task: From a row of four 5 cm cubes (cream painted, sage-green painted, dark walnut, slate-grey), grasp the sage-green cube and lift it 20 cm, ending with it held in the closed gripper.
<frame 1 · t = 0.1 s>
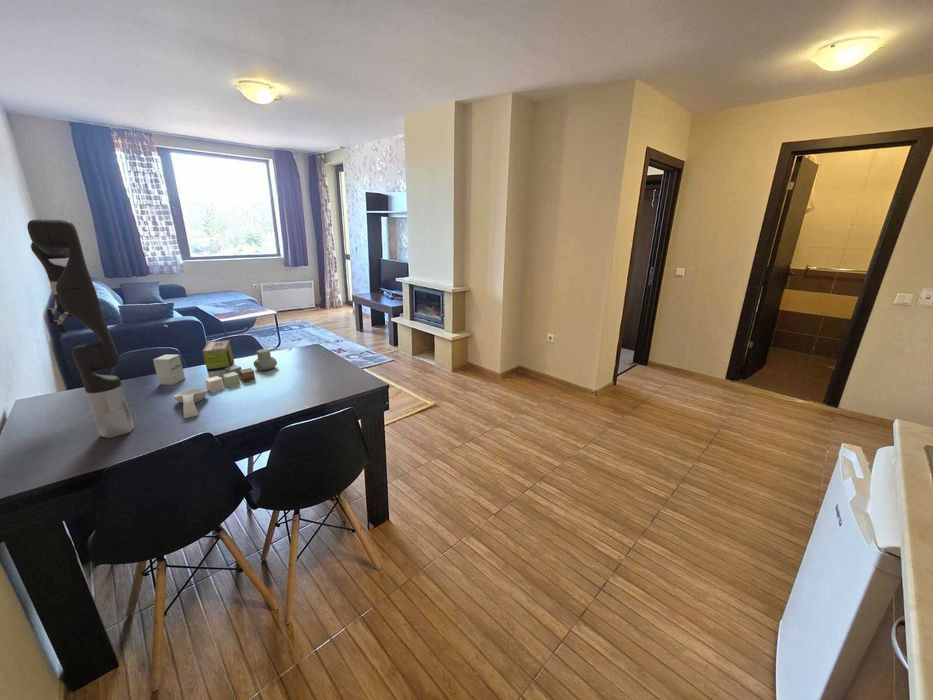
hand: (78, 330, 156), 29 cm above the table, fingers open, 8 cm apart
tea box: (222, 372, 192), on the table
supplement box: (172, 382, 180), on the table
cream cube: (215, 388, 173), on the table
sage cube: (232, 384, 178), on the table
spoon rest: (192, 406, 157), on the table
slate cube: (234, 376, 186), on the table
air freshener: (266, 369, 197), on the table
walnut cube: (248, 380, 183), on the table
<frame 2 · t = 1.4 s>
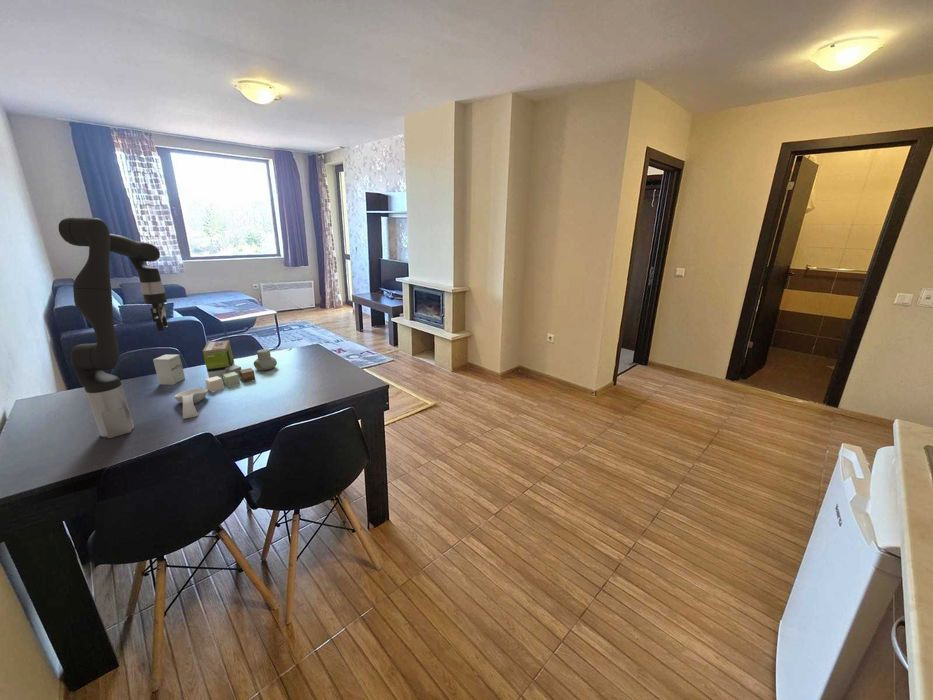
hand: (163, 328, 168), 27 cm above the table, fingers open, 8 cm apart
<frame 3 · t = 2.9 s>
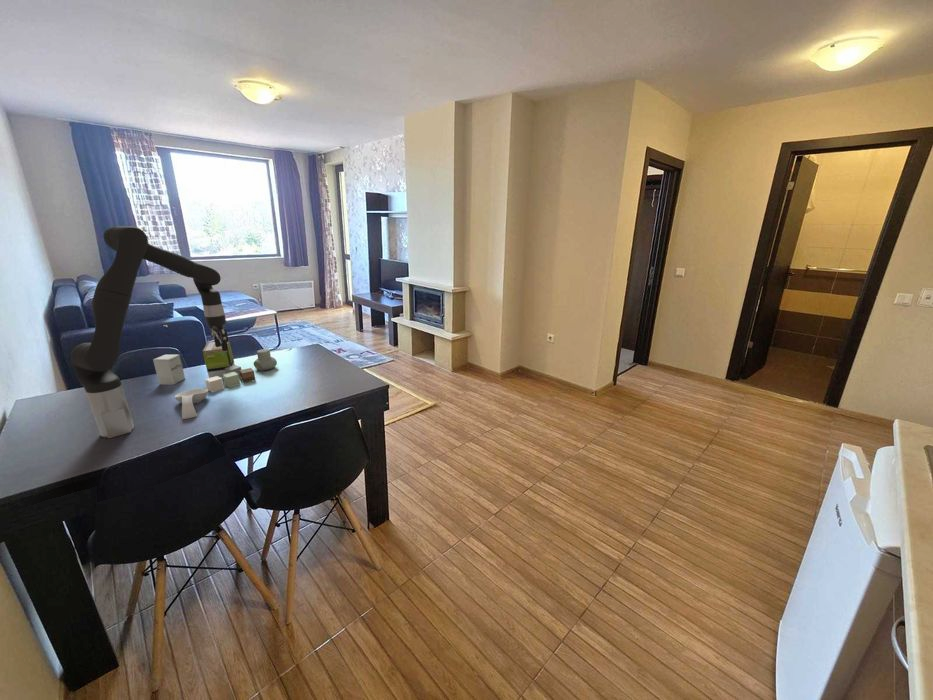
hand: (221, 348, 173), 17 cm above the table, fingers open, 8 cm apart
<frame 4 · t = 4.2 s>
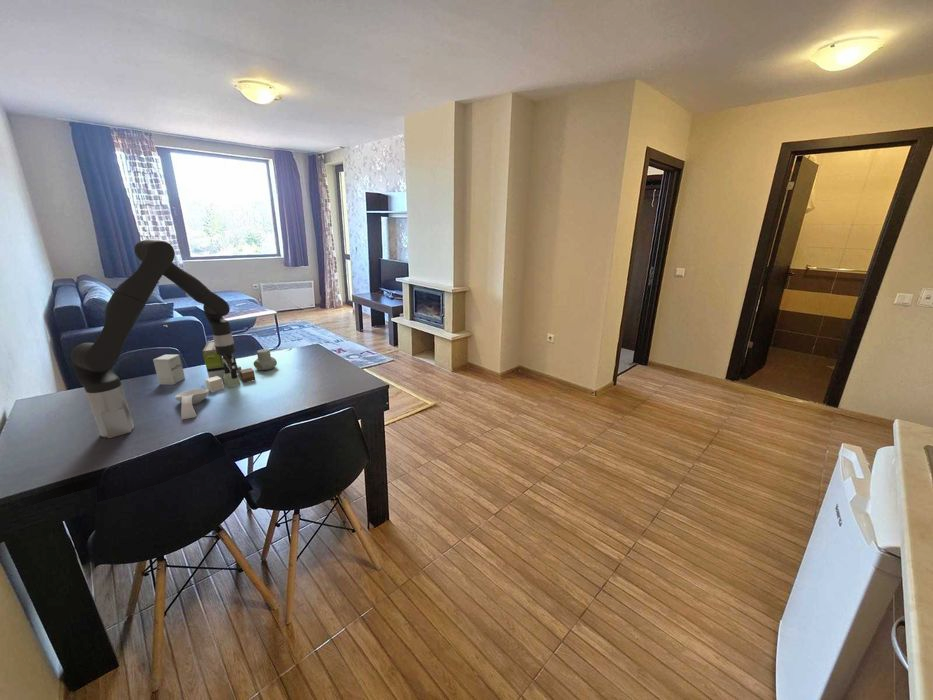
hand: (231, 375, 177), 4 cm above the table, fingers open, 8 cm apart
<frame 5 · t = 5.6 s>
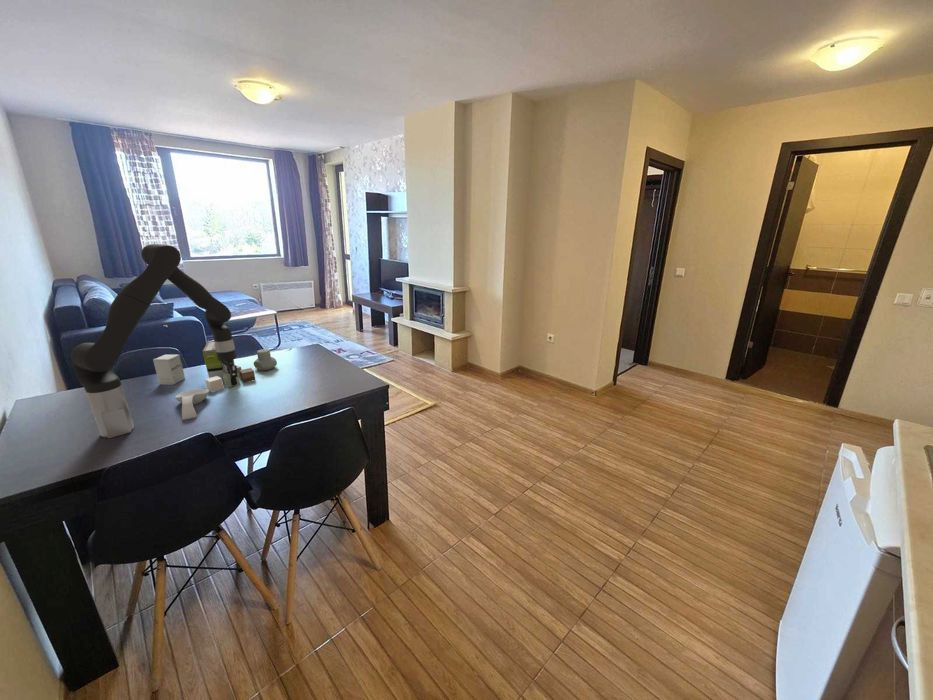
hand: (232, 383, 178), 0 cm above the table, fingers closed on sage cube, 5 cm apart
sage cube: (232, 384, 178), on the table, touching gripper
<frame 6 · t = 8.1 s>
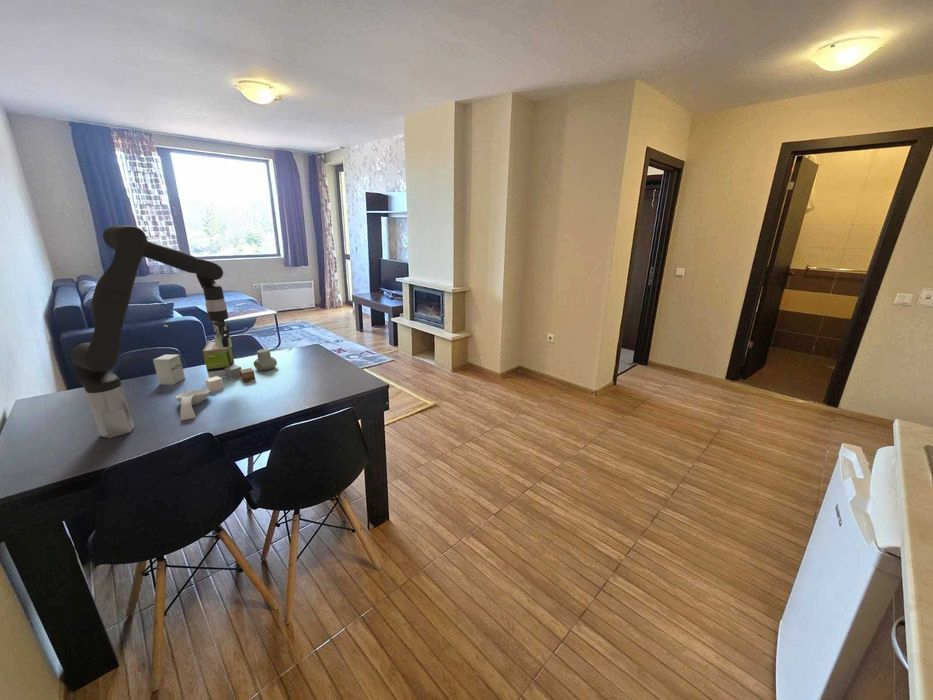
hand: (224, 345, 172), 19 cm above the table, fingers closed on sage cube, 5 cm apart
sage cube: (224, 346, 172), point 18 cm above the table, touching gripper
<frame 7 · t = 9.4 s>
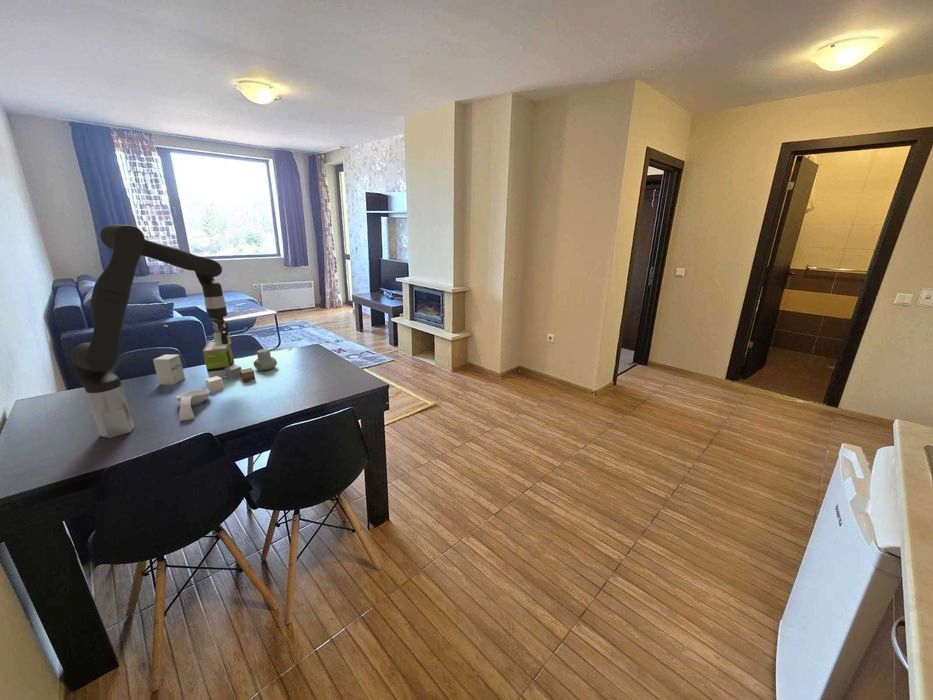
hand: (223, 342, 172), 20 cm above the table, fingers closed on sage cube, 5 cm apart
sage cube: (223, 343, 172), point 20 cm above the table, touching gripper
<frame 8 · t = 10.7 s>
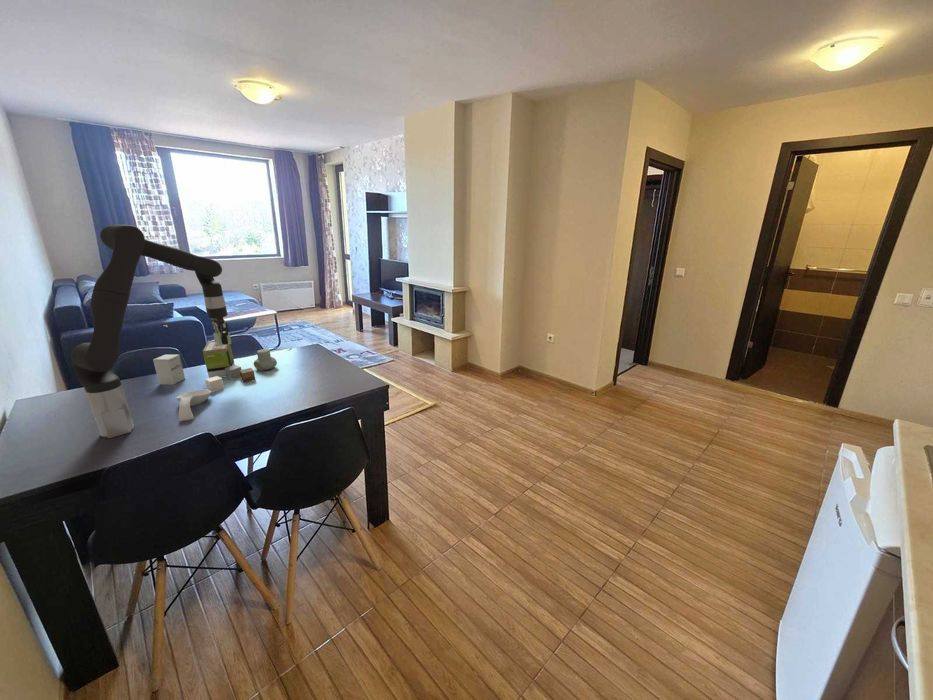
hand: (223, 342, 172), 20 cm above the table, fingers closed on sage cube, 5 cm apart
sage cube: (223, 343, 172), point 20 cm above the table, touching gripper
at the end: the gripper is holding sage cube; sage cube point 19.8 cm above the table; cream cube moved 0.1 cm from its start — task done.
